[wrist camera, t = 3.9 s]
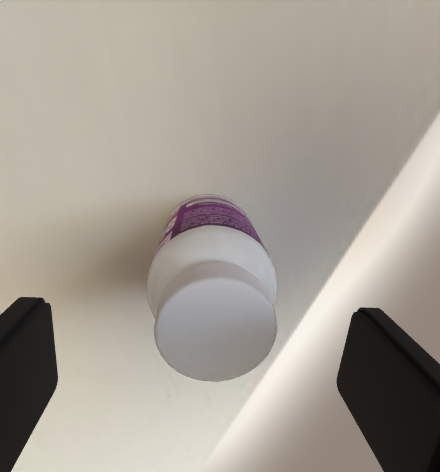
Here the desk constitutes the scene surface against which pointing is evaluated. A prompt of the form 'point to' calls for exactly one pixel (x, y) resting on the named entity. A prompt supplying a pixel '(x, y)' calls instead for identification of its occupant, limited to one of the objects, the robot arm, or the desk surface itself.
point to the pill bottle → (212, 291)
